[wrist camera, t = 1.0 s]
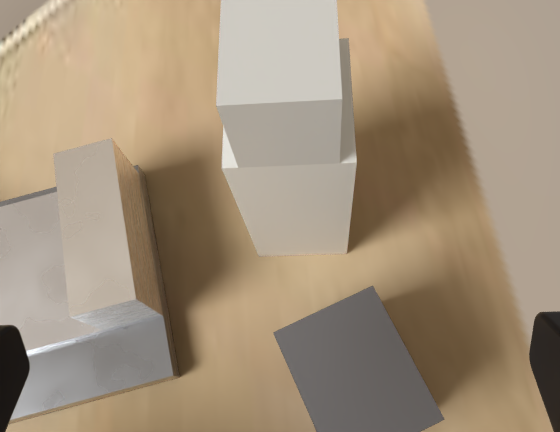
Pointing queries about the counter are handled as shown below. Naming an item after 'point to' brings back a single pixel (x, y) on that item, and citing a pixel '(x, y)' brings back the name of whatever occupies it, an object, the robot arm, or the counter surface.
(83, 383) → the mounting plate
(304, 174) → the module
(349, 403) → the block
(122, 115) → the counter surface
